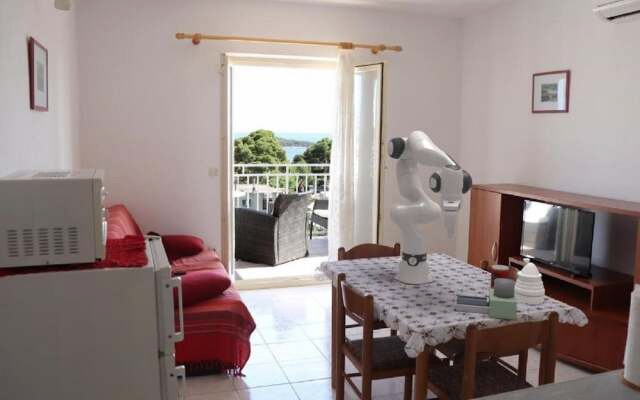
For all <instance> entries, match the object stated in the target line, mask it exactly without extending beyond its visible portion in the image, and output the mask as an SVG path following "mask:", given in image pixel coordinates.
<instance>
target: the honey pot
mask: <svg viewBox="0 0 640 400" xmlns="http://www.w3.org/2000/svg"><path fill="white" fill-rule="evenodd" d="M530 260H531V259H530V258H523V263H524V264H525V265H524V266H523V268H522V269H521V270H519V271H517V272H516V273H517V276H518V277H517V278H516V281H515V290H514V292H515V296H516V301H519V302H518V303H520V302H523V303H522V304H524V303H529V304H528V305H533V304H535V305H540V304H539V303H542V304H544V303H545V292H546V290H545V287H544V281H542V277H543V275H542V273H540V272H539V270H538V268H537V266H536V264H534V263H533V262H530ZM543 302H544V303H543Z"/></svg>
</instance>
